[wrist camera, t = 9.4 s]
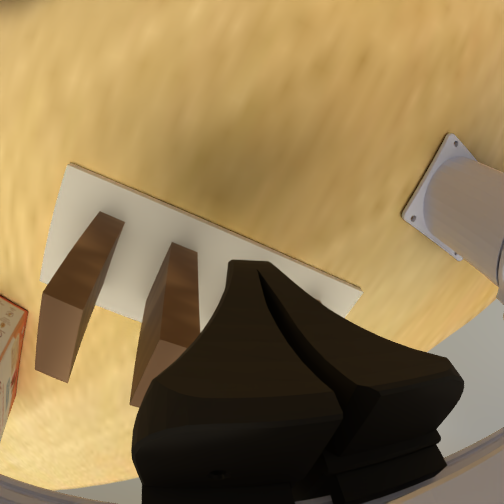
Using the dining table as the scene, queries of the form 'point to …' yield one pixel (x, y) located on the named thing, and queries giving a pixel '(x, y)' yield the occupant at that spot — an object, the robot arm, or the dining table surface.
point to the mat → (166, 248)
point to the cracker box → (9, 354)
